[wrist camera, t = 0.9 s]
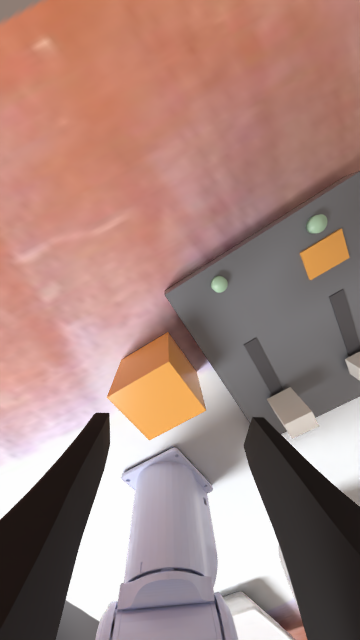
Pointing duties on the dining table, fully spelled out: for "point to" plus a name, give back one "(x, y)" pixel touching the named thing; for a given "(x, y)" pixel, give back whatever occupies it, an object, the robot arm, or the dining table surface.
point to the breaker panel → (283, 306)
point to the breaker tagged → (354, 365)
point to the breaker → (293, 412)
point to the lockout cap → (157, 388)
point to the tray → (253, 620)
